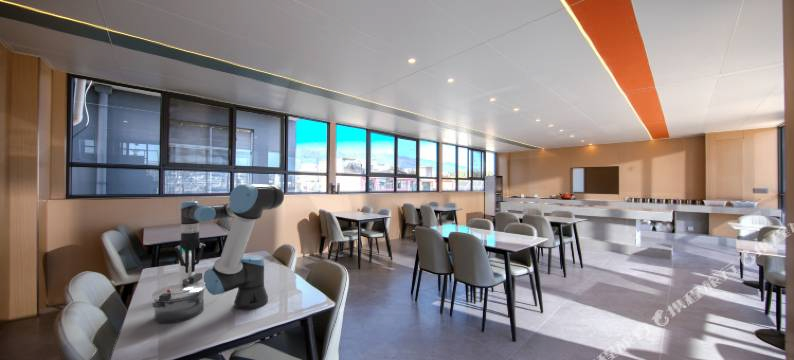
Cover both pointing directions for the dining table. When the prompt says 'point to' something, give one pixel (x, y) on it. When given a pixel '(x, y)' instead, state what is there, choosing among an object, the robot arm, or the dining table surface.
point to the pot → (179, 309)
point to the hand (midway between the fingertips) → (190, 278)
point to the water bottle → (182, 272)
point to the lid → (181, 289)
